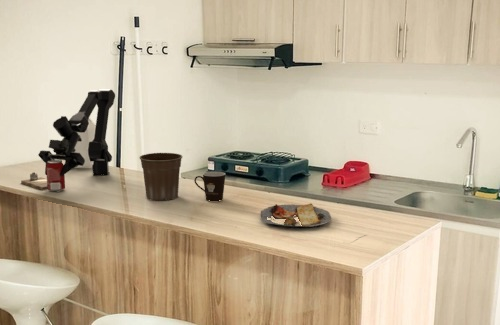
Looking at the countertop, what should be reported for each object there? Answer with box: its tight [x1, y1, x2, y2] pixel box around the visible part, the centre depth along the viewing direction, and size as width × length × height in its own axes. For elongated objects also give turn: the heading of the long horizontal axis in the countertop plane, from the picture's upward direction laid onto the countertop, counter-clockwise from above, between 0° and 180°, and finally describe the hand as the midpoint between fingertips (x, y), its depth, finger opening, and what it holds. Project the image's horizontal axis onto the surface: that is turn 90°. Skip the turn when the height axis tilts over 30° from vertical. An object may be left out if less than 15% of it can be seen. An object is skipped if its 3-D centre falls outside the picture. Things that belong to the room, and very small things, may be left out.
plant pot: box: [139, 152, 183, 202], centre depth 214 cm, size 16×16×16 cm
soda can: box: [45, 159, 66, 193], centre depth 225 cm, size 7×7×12 cm
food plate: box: [260, 202, 332, 228], centre depth 187 cm, size 25×23×4 cm
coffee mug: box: [193, 171, 226, 202], centre depth 213 cm, size 12×9×10 cm
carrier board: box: [20, 172, 48, 191], centre depth 235 cm, size 18×9×4 cm, turn 48°
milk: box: [73, 112, 96, 169], centre depth 275 cm, size 12×12×26 cm
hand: (53, 175), depth 223 cm, fingers closed on soda can, 7 cm apart
